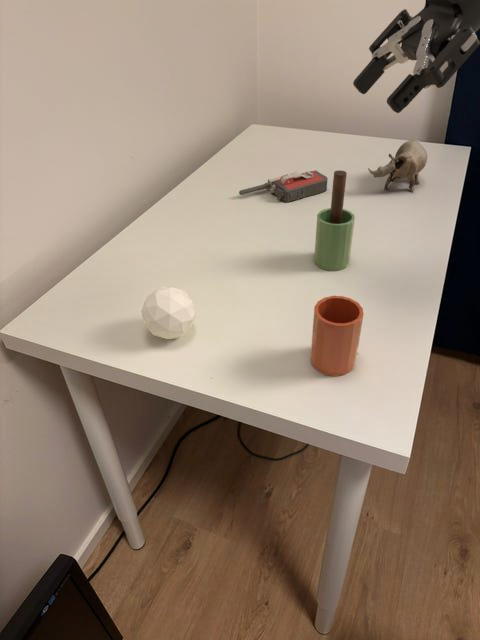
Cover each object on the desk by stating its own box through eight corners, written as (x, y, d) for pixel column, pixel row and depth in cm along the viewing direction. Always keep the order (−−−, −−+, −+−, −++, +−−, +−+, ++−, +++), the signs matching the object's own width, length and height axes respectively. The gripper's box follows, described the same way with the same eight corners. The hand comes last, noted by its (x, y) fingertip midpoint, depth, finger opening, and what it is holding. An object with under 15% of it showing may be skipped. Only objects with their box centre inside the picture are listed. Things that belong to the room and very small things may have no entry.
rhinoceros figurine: (443, 165, 112) (431, 120, 100) (414, 215, 111) (399, 175, 99) (412, 160, 117) (397, 116, 105) (384, 207, 116) (366, 168, 104)
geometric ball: (185, 339, 77) (213, 304, 73) (159, 357, 70) (188, 319, 66) (152, 306, 77) (177, 270, 74) (122, 321, 70) (149, 282, 67)
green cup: (353, 256, 88) (359, 212, 83) (342, 274, 84) (347, 228, 79) (321, 249, 91) (325, 205, 85) (308, 265, 87) (311, 220, 81)
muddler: (346, 258, 87) (357, 172, 77) (333, 266, 85) (342, 179, 75) (330, 250, 89) (338, 166, 79) (316, 258, 87) (323, 173, 77)
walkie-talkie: (310, 177, 116) (237, 196, 109) (312, 159, 113) (236, 178, 106) (332, 190, 110) (256, 212, 103) (334, 171, 107) (256, 192, 100)
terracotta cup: (360, 353, 69) (369, 303, 63) (346, 381, 65) (354, 331, 59) (319, 340, 71) (324, 291, 66) (303, 367, 67) (307, 317, 62)
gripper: (427, -52, 58) (331, 64, 63) (511, -47, 47) (387, 92, 52) (455, -2, 62) (363, 102, 67) (537, 12, 52) (420, 135, 57)
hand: (373, 98), depth 60 cm, fingers open, 8 cm apart
